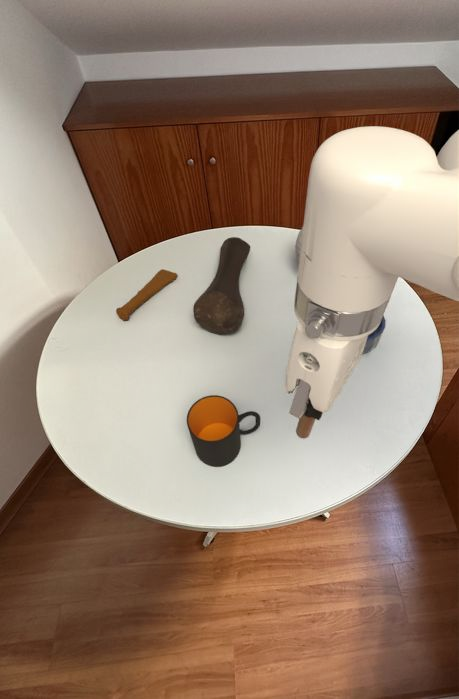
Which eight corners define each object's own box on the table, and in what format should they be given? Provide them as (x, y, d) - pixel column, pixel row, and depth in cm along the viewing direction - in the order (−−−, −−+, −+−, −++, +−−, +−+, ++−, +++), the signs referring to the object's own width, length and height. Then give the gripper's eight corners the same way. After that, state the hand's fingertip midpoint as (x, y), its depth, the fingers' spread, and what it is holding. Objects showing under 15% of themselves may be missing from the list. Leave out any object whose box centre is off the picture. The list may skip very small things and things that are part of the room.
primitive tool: (162, 270, 97) (159, 259, 94) (179, 275, 95) (177, 265, 92) (116, 318, 87) (111, 308, 84) (134, 326, 85) (130, 316, 82)
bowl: (387, 327, 81) (394, 311, 77) (365, 365, 75) (371, 350, 71) (335, 306, 85) (339, 290, 81) (311, 341, 79) (314, 325, 76)
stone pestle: (228, 347, 82) (243, 276, 102) (250, 317, 75) (262, 246, 94) (183, 327, 80) (207, 258, 99) (202, 293, 73) (224, 226, 92)
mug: (266, 454, 64) (268, 428, 56) (199, 472, 63) (191, 448, 55) (253, 414, 69) (253, 384, 61) (191, 429, 68) (182, 401, 60)
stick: (312, 431, 52) (332, 379, 41) (304, 441, 52) (323, 391, 40) (300, 422, 53) (317, 369, 42) (293, 432, 52) (307, 381, 41)
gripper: (342, 383, 26) (311, 474, 40) (416, 259, 33) (367, 373, 48) (251, 339, 29) (253, 439, 43) (338, 234, 36) (315, 349, 51)
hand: (313, 403), depth 45 cm, fingers closed on stick, 2 cm apart
